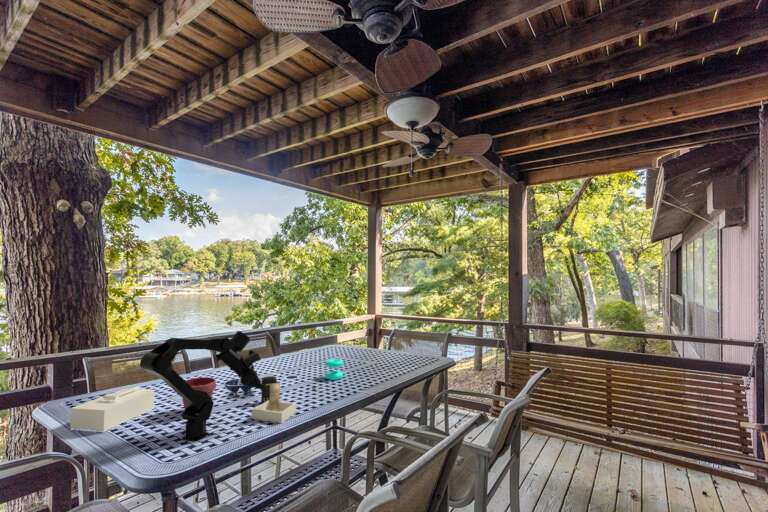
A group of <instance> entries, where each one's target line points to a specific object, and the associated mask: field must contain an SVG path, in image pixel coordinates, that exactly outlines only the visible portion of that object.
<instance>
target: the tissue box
mask: <svg viewBox="0 0 768 512" xmlns="http://www.w3.org/2000/svg"><path fill="white" fill-rule="evenodd" d="M155 391H156V390H155V389H148V388H147V389H146V388H145V389H144V388H141V387H140V386H138V385H135V386H132V387H131V388H128V387H127V388H123V389H120V390H118V391H114V392H112V393H110V394H106V395H103V396H101V397H97V398H95V399H93V400H90V401H86V402H85V403H81V404H79V405H76V406H73V407H71V408H70V415H69V416H70V417H69V418H70V419H69V420H70V421H69V428H70V427H71V428H82V429H90V430H96V431H106V430H108V429H110V428H113V427H115V426H117V425H119V424H121V423H123V422H125V421H127V420H130V419H132V418H134V417H136V416H138V417H140V416H139V415H141V414H143V413H145V412H147V411H149V412H151V411H153V410H155V396H156V394H155V393H156V392H155ZM152 409H153V410H152ZM150 410H151V411H150ZM147 413H148V412H147ZM145 414H146V413H145ZM143 415H144V414H143ZM141 416H142V415H141ZM136 418H137V417H136ZM134 419H135V418H134ZM132 420H133V419H132ZM130 421H131V420H130ZM119 426H120V425H119ZM117 427H118V426H117ZM115 428H116V427H115ZM113 429H114V428H113Z"/></svg>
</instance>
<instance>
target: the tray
mask: <svg viewBox="0 0 768 512" xmlns="http://www.w3.org/2000/svg"><path fill="white" fill-rule="evenodd" d="M269 405H270V401H266V402H264V403H261V404H260V405H258V406H256V407H253V409H251V420H252V419H254V420H253V421H258V420H262V421H261V422H267V421H270V423H275V422H278V423H277V424H282V423H284V422H285V421H287V420H288V419H290V418H291V417H292V416H294V415H295V414H296V413H297V403H296V402H288V401H279V412H276V411H269Z"/></svg>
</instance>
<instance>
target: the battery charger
mask: <svg viewBox="0 0 768 512" xmlns="http://www.w3.org/2000/svg"><path fill="white" fill-rule="evenodd" d="M260 380H261V382H260V383H261V384H262V385H263V387H264V388H263V389H260V393H261V395H260V396H261V398H260V399H261V400H260V401H261V404H263V403H264V402H266V401H270V384H273V383H278V380H277V377H276V375H268V376H264V377H262V379H260Z"/></svg>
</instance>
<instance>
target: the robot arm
mask: <svg viewBox="0 0 768 512" xmlns="http://www.w3.org/2000/svg"><path fill="white" fill-rule="evenodd" d="M250 342H251V339H250V337H249V336H248V335H246V334H245V333H243V332H242V331H241V330H238V331H236V332H235V334H234V336H232V337H231V339H230V338H229V337H227V336H226V337H225V336H217V335H216V336H215V335H214V336H209V337H205V338H178V337H170V338H169V339H166V340H165V341H164V342H163V343H161V344H160V345H158V346H156V347H154V348H153V349H152V350H150V352H148V353H145V354H144V355H143V356H142V357H141V359H140V363H139V367H140V368H141V369H142V370H144V371H146V372H147V373H148V374H151V375H153V376H155V377H158V378H160V380H162V381H163V382H164V383H165V384H166V385H168V387H170V389H172V390H173V391H174V392H175V393H176V394H177V395H179V396H180V397H181V399H182V398H183V399H184V400H185V403H186V406H187V408H186V409H184V410H183V412H182V413H181V418H182V420H185V435H184V436H182V437H181V440H185V441H193V442H197V441H200V440H201V439H202V438H205V437H206V436H208V435H209V433H210V432H208V431H207V421H208V420H209V419H210V418H211V415H212V410H213V407H214V403H215V402H214V400H213V398H214V397H213V396H212V397H210V396H209V395H208V393H207V392H204V391H200V390H194V389H193V388H192V387H191V386H190V385H189V384H188V383H187V382H186V381H185V380H186V379H184V378H183V377H182V376H181V375H180V374H178V373H177V371H176V370H175V369H174V367H173V363H172V361H174V359H175V358H176V356H177V355H178V353H179V351H181V350H206V351H210V352H218V354H214V355H213V357H214V360H213V361H214V363H216V364H217V362H220V361H221V362H222V363H224V364H225V365H226V366H227V367H228V368H229V370H230V371H232V372H234V373H235V374H236V375H237V376H238V378H239V379H240V380H239V381H240V383H241V385H242V386H245V387H251V388H255V389H259V390H261V389H263V388H264V387H263V385H262V384H261V380H262V379H260V377H259V376H258V373H257V371H256V370H255V365H254V363H256V362H259V361H261V360H262V358H261V355H260V353H259V351H257V350H255V351H254V350H253V349H250V350H249V351H248V354H246V355H245V356H243V355H239V354H238V353H241V352H242V351H243V350H244V349H245V348H246V347H247V345H248V344H249V343H250ZM196 413H197V414H196Z"/></svg>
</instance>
